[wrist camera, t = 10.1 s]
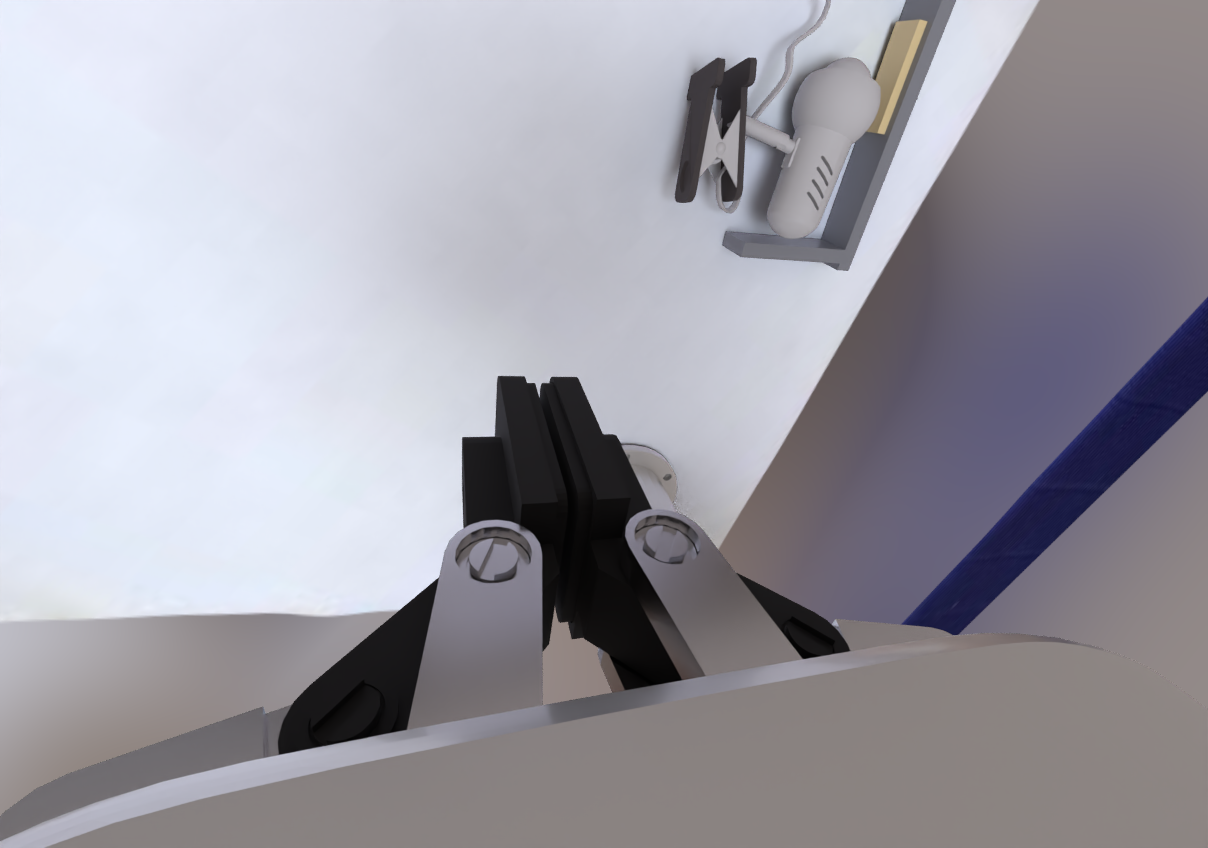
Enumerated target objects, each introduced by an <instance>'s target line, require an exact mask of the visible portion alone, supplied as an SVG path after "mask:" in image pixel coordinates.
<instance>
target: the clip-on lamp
mask: <svg viewBox="0 0 1208 848" xmlns="http://www.w3.org/2000/svg"><path fill="white" fill-rule="evenodd" d="M830 3H831V0H826V4H825V7H824V10H823V12H822V15H821V17H820V18H819V20H818V21H817V22H816V24H815V25H814V26H813V27H812V28H811V29H810V30H808V31H807V32H806V33H804V34H803V35H802V36H800V37H799V38H798V39H796V40H795V41H794V42H793V43H792V44H791V45H790V46H789V48H788V49H787V52H786V66H785V72H784V74H783V77H782V79H781V80H780V82H779V83H778V85H777V86H776V87H775V88H774V90H773V91H772V92H771V93H770V94H769V95H768V97H767V98H766V99H765V100H764V101H763V102H762V104H761V105H760V106H759V107H758V109H757V110H756V111H755V113H754V114H753V115H752V117H749V116H747V115H746V111H747V89H748V87H749V86H751V85H752V84H753V83H754V81H755V77H756V66H757V60H756V58H747V59H745V60H744V61H742V62H740V63H739V64H737V65H736V66H734V67H732V68H731V69H729V70H728V71H726V72H724V68H725V59H721V58H716V59H715V60H713V61H712V62H711V63H709V64H708V65H706V66H705V67H704V68H702V69H701V70H699V71H698V72H696V73H695V74H694V75H692V76H691V79H690V84H689V89H688V94H687V100H691V105H690V110H689V116H688V122H687V128H686V133H685V139H684V145H683V151H682V156H681V162H680V168H679V174H678V179H677V185H676V191H675V199H676V202H679V203H687V202H691V201H693V199H694V197H695V195H696V190H697V185H698V180H699V177H700V176H701V175H702V174H703V173H704V172H705V170H706V169H707V168H708V170H709V172H710V174H711V176H712V177H713V179H714V181H715V183H716V200H717V203H718V205H719V207H720V208H721V209H722V210H723V211H725V212H726V213H733V212H734V211H735V210H736V209H737V207H738V204H739V202H740V199H741V195H742V190H743V175H744V153H745V140H746V138H747V136H749V137H752V138H754V139H756V140H758V141H761V142H763V143H765V144H767V145H770V146H772V147H774V148H775V149H778V150H780V151H782V152H784V153H786V154H785V157H784V160H783V163H782V165H781V168H782V170H781V173H780V176H779V179H778V182H777V184H776V187H775V190H774V193H773V196H772V199H771V202H770V204H769V207H768V210H767V220H768V223H769V225H770V227H771V228H772V230H773V231H774V232H775V233H776V234H778V235H779V236H781V237H784V238H787V239H798V238H802V237H804V236H807V235H808V234H810V233H811V232H813V231H814V230H815V229H816V228H817V227H818V225H819V223H820V221H821V218H822V216H823V213H824V211H825V208H826V206H827V203H828V201H829V199H830V196H831V194H832V191H833V189H834V186H835V184H836V181H837V179H838V176H839V174H840V171H841V169H842V167H843V164H844V162H845V159H846V157H847V154H848V152H849V149H850V147H851V145H852V144H853V143H855V142H856V141H857V140H858V139H859V138H861V137H862V135H863V134H864V133H865V132H866V131H867V130H868V129H869V127H870V126H871V124H872V123H873V121H874V119H875V117H876V115H877V113H878V109H879V106H880V98H881V92H880V86H879V85H878V83H877V82H876V81H875V80H873V79H872V78H871V74H870V71H869V69H868V68H867V66H866V65H865V64H864V63H863V62H862V61H860V60H858V59H856V58H849V57H848V58H842V59H838V60H836V61H834V62H832V63H831V64H830V65H828V66H827V67H826V68H823V69H819V70H816V71H813V72H812V73H810V74H809V75H808V76H807V77H806V78H805V80H804V81H803V82H802V84H801V86H800V87H799V90H798V92H797V94H796V97H795V100H794V103H793V108H792V122H793V126H794V129H795V133H794V136H793V139H789V138H790V136H789V135H788V134H786V133H784V132H781V131H779V130H777V129H775V128H773V127H771V126H768V125H766V124H764V123H762V122H760V121H757V118H758V117H759V116H760V115H761V113H762V112H763V111H764V109H765V108H766V107H767V106H768V105H769V103H770V102H771V101H772V100H773V99H774V98H775V96H776V95H777V94H778V93H779V92H780V90H781V89H782V88H783V87H784V85H785V84H786V82H787V81H788V79H789V77H790V74H791V72H792V67H793V52H794V48H795V46H796V45H797V44H798V43H799V42H800V41H802V40H803V39H804V38H806V37H807V36H809V35H810V34H811V33H813V32H814V31H815V30H816V29H817V28H818V27H819V26H820V25H821V24H822V22H823V21H824V20H825V18H826V16H827V13H828V10H829V8H830ZM717 87H718V88H717ZM716 88H717V95H716V97H717V99H721V100H722V105H721V120H720V121H719V123H718V125H717V123H716V119H715V116H714V112H713V108H712V105H713V99H714V94H715V89H716ZM728 201H733V203H732V204H731V206H730V207H729V208H725V207H724V205H723V202H728Z"/></svg>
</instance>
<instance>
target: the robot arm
mask: <svg viewBox="0 0 1208 848" xmlns="http://www.w3.org/2000/svg"><path fill="white" fill-rule="evenodd" d="M676 492H677V479H676V476H675V473H674V471H673V469H672V467H671V466H670V464H669V462H668V461H667V460H666V459H665V458H664V457H663V456H662V455H661V454H659V453H657V452H656V451H654V450H652V449H649V448H646V447H643V446H637V445H621V443H620V441H619V439H618V438H617V436H616V435H613V434H605V435H603V433H602V431H601V429H600V427H599V424H598V422H597V420H596V418H595V415H594V413H593V411H592V409H591V406H590V404H589V402H588V400H587V397H586V395H585V393H584V391H583V388H582V386H581V384H580V382H579V379H578V378H577V377H551V379H550V383H542V384H541V389H540V399H539V395H538V392H537V389H536V385H535V383H527V382H526V379H525V377H524V376H498V380H497V400H496V424H495V437H462V494H463V525H464V529H462V530H460V531H458V532H457V533H456V534H455V536H454V537H453V538H452V539H451V540H450V541H449V543H448V545H447V548H446V550H445V552H444V557H443V562H442V567H441V571H440V576H439V578H438V579H436V580H435V581H434V582H433V583H432V584H430V585H429V586H428V587H427V588H426V589H424V590H423V591H422V592H421V593H420V594H418V595H417V596H416V597H415V598H414V599H412V600H411V601H410V602H409V603H408V604H407V605H405V606H404V607H403V608H402V609H401V610H399V611H398V612H397V613H396V614H395V615H393V616H392V617H391V618H390V619H389V620H388V621H386V622H385V623H384V624H383V625H381V626H380V627H379V628H378V629H377V630H375V631H374V632H373V633H372V634H371V635H369V636H368V637H367V638H366V639H365V640H363V641H362V642H361V643H360V644H359V645H358V646H356V647H355V648H354V649H353V650H351V651H350V652H349V653H348V654H347V655H346V656H344V657H343V658H342V659H341V660H340V661H338V662H337V663H336V664H335V665H334V666H332V667H331V668H330V669H329V670H328V671H326V672H325V673H324V674H323V675H322V676H320V677H319V678H318V679H317V680H316V681H315V682H313V683H312V684H311V685H310V686H309V687H308V688H307V689H306V690H305V691H304V692H303V693H302V694H301V695H300V696H299V697H298V698H297V699H296V700H295V701H294V703H293V704H292V705H289V706H287V707H284V708H281V709H278V710H275V711H272V712H269V713H265V710H264V707H260V708H257V709H254V710H251V711H248V712H245V713H242V714H240V715H237V716H234V717H231V718H228V719H225V720H222V721H219V722H216V723H213V724H210V725H208V726H205V727H202V728H199V729H196V730H193V731H190V732H187V733H184V734H181V735H179V736H176V737H173V738H170V739H167V740H164V741H161V742H158V743H155V744H153V745H150V746H147V747H144V748H141V749H138V750H135V751H132V752H129V753H126V754H124V755H121V756H118V757H115V758H112V759H109V760H106V761H103V762H100V763H97V764H95V765H92V766H89V767H86V768H83V769H80V770H77V771H74V772H71V773H69V774H66V775H64V776H62V777H60V778H58V779H55V780H53V781H51V782H49V783H47V784H45V785H43V786H41V787H39V788H36V789H35V790H34V791H32V792H31V793H29V794H28V795H27V796H25V797H24V798H23V799H21V800H20V801H18V802H17V803H16V804H14V805H13V806H12V807H10V808H9V809H8V810H6V811H5V812H4V813H3V814H2V815H1V816H0V848H1208V709H1207V708H1206V707H1204V706H1203V705H1202V704H1201V703H1199V702H1198V701H1196V700H1195V699H1194V698H1192V697H1191V696H1190V695H1189V694H1187V693H1186V692H1185V691H1183V690H1182V689H1180V688H1179V687H1178V686H1177V685H1175V684H1173V683H1172V682H1171V681H1169V680H1168V679H1166V678H1165V677H1163V676H1162V675H1161V674H1159V673H1157V672H1156V671H1154V670H1153V669H1151V668H1149V667H1147V666H1145V665H1143V664H1141V663H1139V662H1137V661H1135V660H1132V659H1130V658H1127V657H1125V656H1122V655H1120V654H1117V653H1114V652H1111V651H1108V650H1104V649H1102V648H1099V647H1095V646H1091V645H1087V644H1083V643H1078V642H1073V641H1070V640H1065V639H1061V638H1055V637H1046V636H1037V635H1028V634H1018V633H980V634H969V635H956V636H953V635H951V634H949V633H947V632H945V631H943V630H939V629H935V628H930V627H920V626H908V625H897V624H886V623H875V622H862V621H852V620H841V619H835V621H834V623H833V624H832V625H831V624H830V623H829V622H828V621H827V620H826V619H824V618H822V617H821V616H819V615H818V614H816V613H815V612H813V611H811V610H808V609H807V608H805V607H802V606H801V605H799V604H797V603H795V602H793V601H791V600H789V599H787V598H785V597H783V596H781V595H779V594H777V593H775V592H773V591H771V590H769V589H767V588H765V587H764V586H762V585H760V584H758V583H756V582H754V581H752V580H750V579H748V578H746V577H744V576H742V575H740V574H738V573H736V572H735V571H734V570H733V569H732V567H731V566H730V564H729V563H728V562H727V561H726V559H725V558H724V557H723V555H722V554H721V553H720V552H719V550H718V549H717V548H716V546H715V545H714V544H713V542H712V541H711V540H710V539H709V537H708V536H707V535H706V533H705V532H704V531H703V530H702V529H701V528H700V527H699V526H698V525H697V524H696V523H695V522H694V521H692V520H691V519H689V518H687V517H686V516H684V515H682V514H679V513H677V511H676V509H675V507H674V505H673V502H674V500H675V497H676ZM554 607H555V608H556V613H557V618H558V621H559V622H560V623H561V622H568V624H569V629H570V633H571V638H572V639H577V638H584V639H585V640H587V641H589V642H590V643H592V644H593V645H595V646H597V647H598V657H599V661H600V665H601V667H602V670H603V672H604V674H605V676H606V679H607V681H608V684H609V686H610V688H611V691H612V693H609V694H603V695H598V696H592V697H586V698H581V699H575V700H569V701H564V702H558V703H553V704H547V705H543V701H542V699H543V691H542V690H543V689H542V688H543V687H542V686H543V684H542V683H543V682H542V681H543V680H542V652H543V651H544V649H545V648H546V647H547V646H548V645H549V641H550V634H551V627H552V620H553V613H554Z"/></svg>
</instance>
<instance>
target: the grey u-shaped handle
mask: <svg viewBox="0 0 1208 848" xmlns="http://www.w3.org/2000/svg"><path fill="white" fill-rule="evenodd" d="M955 2H956V0H906V3H905V6H904V9H903V11H902V14H901V17H900V20H899V21H898V22H896V24H895V26H894V29H893V32H892V35H891V38H890V40H889V43H888V46H887V49H886V52H885V55H884V57H883V60H882V63H881V66H880V69H879V71H878V74H877V77H876V80H875V81H876V82H877V83H878V85H879V86H880V92H881V98H880V106H879V109H878V113H877V115H876V117H875V119H874V121H873V123H872V124H871V126H870V127H869V129H868V130H867V131H866V132H865V133H864V134H863V135H862V137H861V138H859V139H858V140H857V141H856V143H855V146H854V149H853V151H852V154H851V157H850V160H849V163H848V165H847V168H846V171H845V174H844V177H843V179H842V182H841V185H840V188H839V191H838V193H837V196H836V199H835V202H834V205H833V207H832V210H831V213H830V216H829V219H828V221H827V224H826V227H825V230H824V233H823V235H822V238H821V239H814V238H798V239H787V238H784V237H781V236H776V235H764V234H752V233H739V232H727V231H726V233H725V237H724V241H723V246H725V247H726V248H728V249H729V250H731V251H732V252H734V253H736V254H737V255H739V256H740V257H748V258H763V259H779V260H794V261H809V262H823V263H825V264H827V265H829V266H831V267H832V268H834V269H836V270H844V271H848V270H849V268H850V265H851V263H852V260H853V258H854V255H855V253H856V250H857V248H858V245H859V242H860V240H861V237H862V235H863V232H864V230H865V227H866V225H867V222H868V220H869V217H870V215H871V212H872V210H873V207H874V205H875V202H876V200H877V197H878V195H879V192H880V190H881V187H882V185H883V182H884V180H885V177H886V175H887V172H888V170H889V167H890V165H891V162H892V160H893V157H894V155H895V152H896V150H897V147H898V145H899V142H900V140H901V137H902V135H903V132H904V130H905V127H906V125H907V122H908V120H909V117H910V115H911V112H912V110H913V107H914V105H915V102H916V100H917V97H918V95H919V92H920V90H921V87H922V85H923V82H924V80H925V77H926V75H927V72H928V70H929V67H930V65H931V62H932V60H933V57H934V55H935V52H936V49H937V47H938V44H939V42H940V39H941V37H942V34H943V32H944V29H945V27H946V24H947V22H948V19H949V17H950V14H951V12H952V9H953V7H954V4H955Z"/></svg>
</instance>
